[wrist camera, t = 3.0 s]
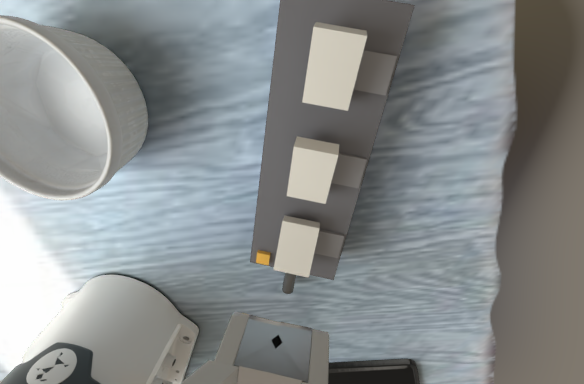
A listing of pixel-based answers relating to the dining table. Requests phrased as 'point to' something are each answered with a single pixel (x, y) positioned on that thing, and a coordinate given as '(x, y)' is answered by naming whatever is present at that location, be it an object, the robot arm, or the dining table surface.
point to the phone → (374, 372)
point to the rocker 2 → (312, 169)
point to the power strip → (323, 123)
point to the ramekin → (64, 111)
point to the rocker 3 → (296, 246)
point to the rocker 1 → (333, 65)
